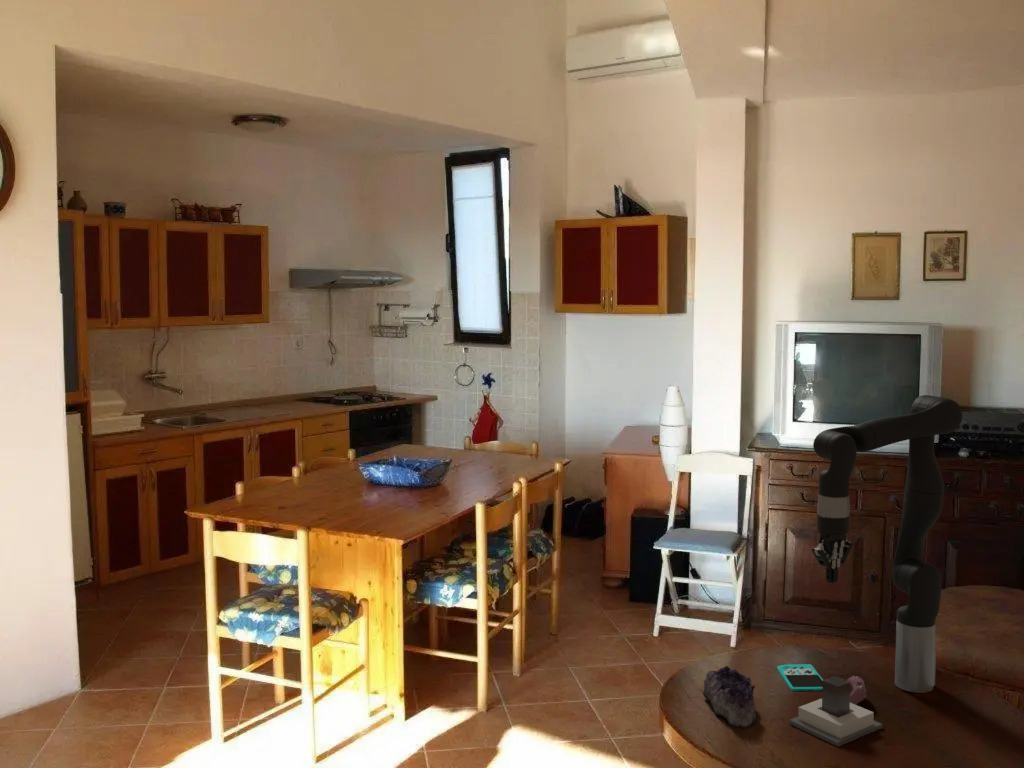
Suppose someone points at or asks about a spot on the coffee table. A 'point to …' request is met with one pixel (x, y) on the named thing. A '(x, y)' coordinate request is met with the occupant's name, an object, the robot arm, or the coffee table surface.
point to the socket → (835, 723)
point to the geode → (731, 696)
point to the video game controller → (856, 690)
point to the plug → (836, 696)
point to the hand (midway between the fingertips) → (831, 581)
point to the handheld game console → (801, 677)
